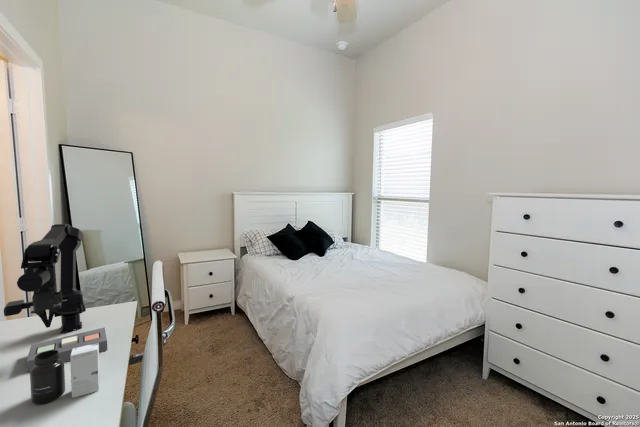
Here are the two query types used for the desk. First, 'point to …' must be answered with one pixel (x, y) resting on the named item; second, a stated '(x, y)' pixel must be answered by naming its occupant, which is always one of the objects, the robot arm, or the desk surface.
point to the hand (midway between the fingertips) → (48, 327)
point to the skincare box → (85, 370)
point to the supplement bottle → (47, 378)
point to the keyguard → (66, 351)
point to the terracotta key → (91, 337)
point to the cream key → (69, 341)
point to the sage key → (46, 348)
